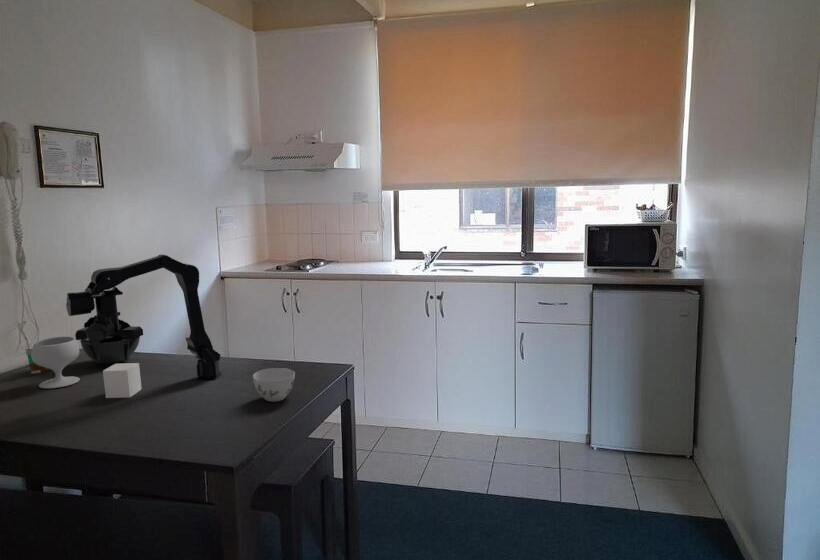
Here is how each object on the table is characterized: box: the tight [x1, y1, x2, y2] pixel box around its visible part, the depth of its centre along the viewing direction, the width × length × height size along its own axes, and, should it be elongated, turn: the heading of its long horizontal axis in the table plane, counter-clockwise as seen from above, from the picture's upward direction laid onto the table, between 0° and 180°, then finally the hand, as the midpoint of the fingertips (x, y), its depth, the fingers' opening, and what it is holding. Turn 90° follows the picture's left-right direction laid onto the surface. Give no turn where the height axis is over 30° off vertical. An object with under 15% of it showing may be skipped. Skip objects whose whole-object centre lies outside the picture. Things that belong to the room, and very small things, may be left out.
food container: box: [25, 348, 54, 376], centre depth 216 cm, size 12×6×10 cm, turn 179°
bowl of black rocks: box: [80, 314, 141, 365], centre depth 224 cm, size 20×20×19 cm
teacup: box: [252, 367, 296, 402], centre depth 182 cm, size 15×12×8 cm
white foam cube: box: [102, 362, 142, 399], centre depth 189 cm, size 8×8×9 cm
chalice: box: [31, 336, 81, 389], centre depth 201 cm, size 14×14×15 cm
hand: (112, 360), depth 183 cm, fingers open, 9 cm apart
